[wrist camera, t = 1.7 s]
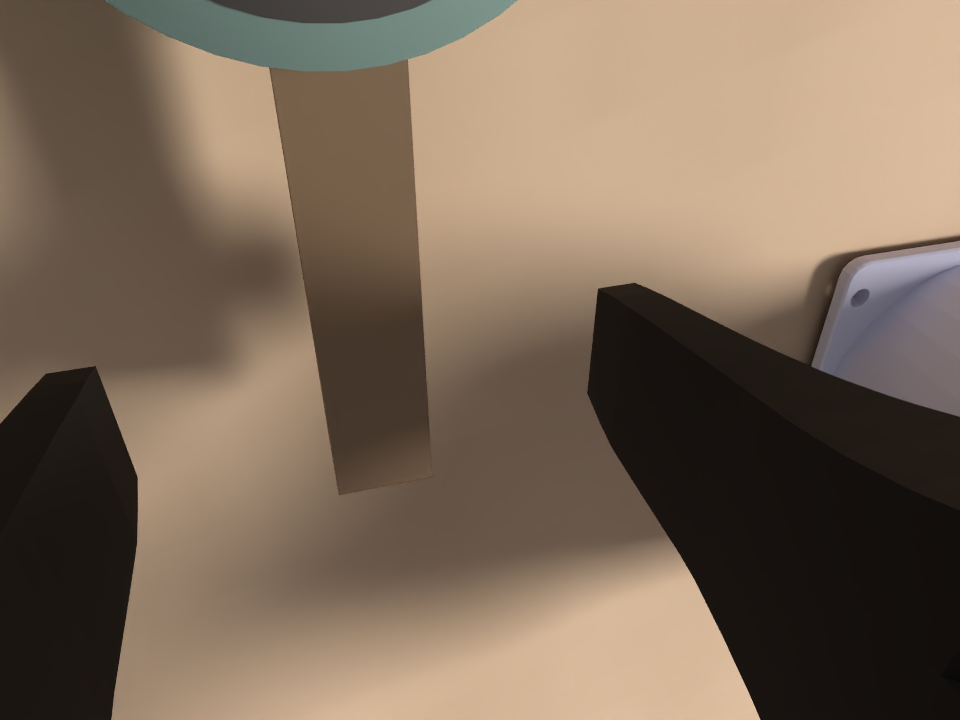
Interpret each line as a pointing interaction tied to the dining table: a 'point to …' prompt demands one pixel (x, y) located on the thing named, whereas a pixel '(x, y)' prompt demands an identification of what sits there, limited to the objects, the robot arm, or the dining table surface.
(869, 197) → the dining table surface
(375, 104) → the pot
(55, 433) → the robot arm
